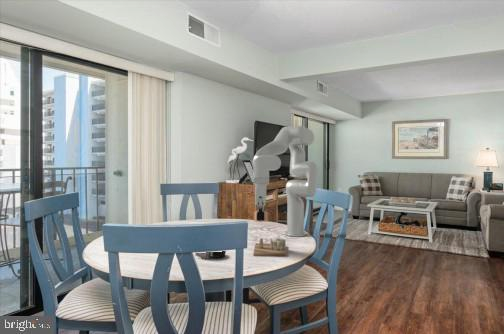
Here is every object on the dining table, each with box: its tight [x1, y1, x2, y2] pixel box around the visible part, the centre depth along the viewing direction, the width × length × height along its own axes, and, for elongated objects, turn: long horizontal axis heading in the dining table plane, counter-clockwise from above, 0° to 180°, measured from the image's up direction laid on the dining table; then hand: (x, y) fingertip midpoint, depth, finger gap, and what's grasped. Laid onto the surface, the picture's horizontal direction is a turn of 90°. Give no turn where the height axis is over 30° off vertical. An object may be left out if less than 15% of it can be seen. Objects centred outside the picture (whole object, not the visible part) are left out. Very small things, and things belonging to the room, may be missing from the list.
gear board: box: [253, 237, 288, 258], centre depth 164 cm, size 18×15×6 cm
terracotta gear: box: [253, 210, 269, 223], centre depth 164 cm, size 7×7×4 cm
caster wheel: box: [194, 250, 226, 260], centre depth 154 cm, size 7×11×10 cm
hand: (261, 218), depth 164 cm, fingers closed on terracotta gear, 6 cm apart
